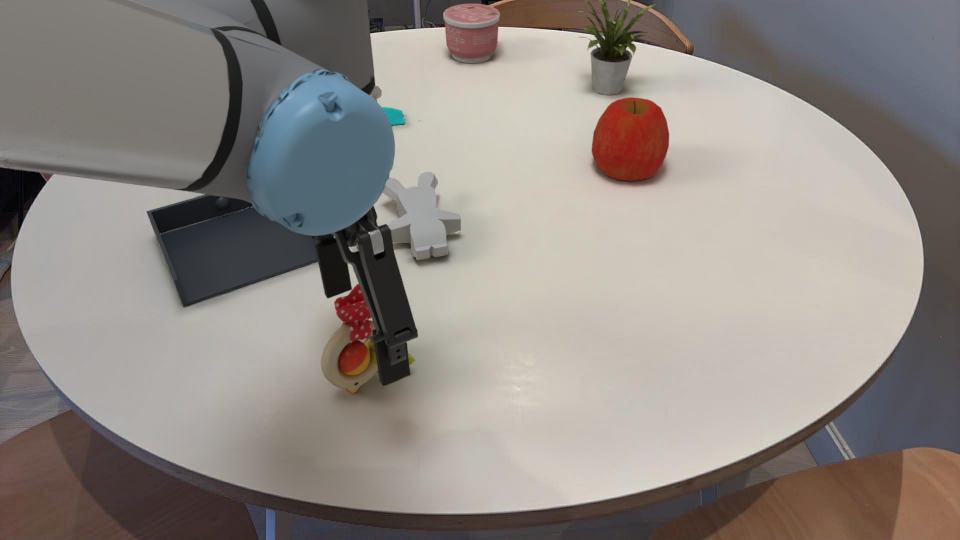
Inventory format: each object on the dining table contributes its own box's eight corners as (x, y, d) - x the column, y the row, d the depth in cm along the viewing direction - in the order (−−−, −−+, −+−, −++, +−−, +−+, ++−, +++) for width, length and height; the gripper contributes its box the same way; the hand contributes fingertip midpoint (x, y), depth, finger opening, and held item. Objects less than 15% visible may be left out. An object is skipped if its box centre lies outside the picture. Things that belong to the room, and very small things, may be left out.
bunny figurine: (392, 245, 82) (371, 168, 92) (394, 275, 85) (374, 197, 95) (470, 232, 84) (441, 157, 94) (469, 262, 87) (441, 187, 97)
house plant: (545, 94, 121) (552, -1, 110) (577, 65, 130) (585, -26, 120) (624, 113, 116) (638, 14, 105) (651, 81, 125) (666, -12, 114)
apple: (643, 144, 108) (653, 79, 101) (677, 180, 100) (692, 113, 93) (578, 154, 105) (585, 89, 99) (608, 193, 97) (618, 124, 91)
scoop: (332, 256, 87) (327, 230, 84) (183, 307, 80) (173, 280, 77) (266, 160, 104) (260, 136, 102) (139, 195, 97) (130, 170, 95)
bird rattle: (376, 419, 70) (432, 348, 72) (326, 376, 61) (392, 297, 63) (335, 388, 73) (390, 321, 76) (282, 343, 64) (347, 269, 67)
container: (504, 63, 131) (505, 21, 126) (449, 68, 129) (447, 25, 124) (493, 42, 139) (493, 1, 134) (440, 46, 137) (439, 5, 132)
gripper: (453, 203, 47) (462, 403, 61) (320, 69, 64) (351, 250, 77) (350, 239, 44) (383, 440, 58) (239, 88, 61) (285, 273, 74)
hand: (365, 332), depth 68 cm, fingers open, 13 cm apart
